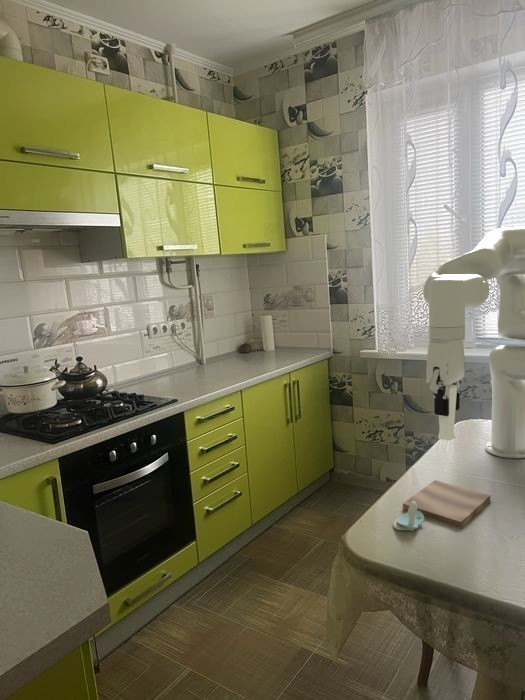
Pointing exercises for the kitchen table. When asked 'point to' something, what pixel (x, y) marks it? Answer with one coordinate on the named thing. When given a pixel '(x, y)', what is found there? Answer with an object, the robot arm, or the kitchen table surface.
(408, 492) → the kitchen table surface
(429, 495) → the walnut board
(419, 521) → the pacifier
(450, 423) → the white tall faceted piece
